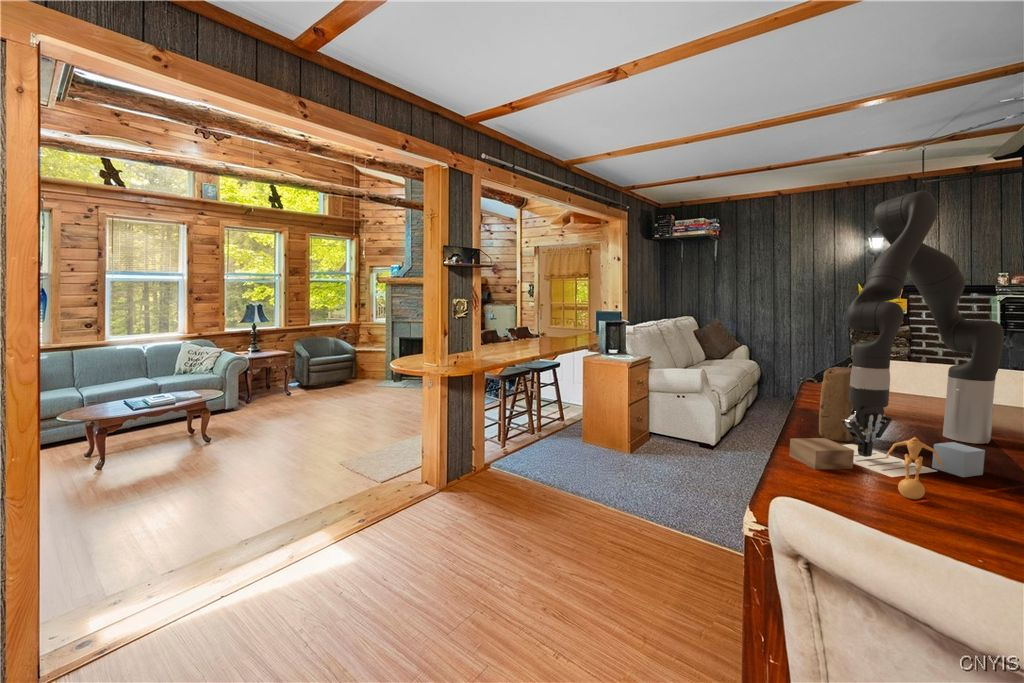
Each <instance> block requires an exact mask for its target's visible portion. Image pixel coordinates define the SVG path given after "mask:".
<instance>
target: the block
mask: <svg viewBox="0 0 1024 683" xmlns="http://www.w3.org/2000/svg"><path fill="white" fill-rule="evenodd" d="M851 370H852V367H845V366H844V367H843V366H841V367H840V366H833V367H829V368H828V369H826V370H825V371H824V372H823V379H822V383H821V386H820V387H821V388H820V390H821V391H820V396H819V397H820V398H819V414H818V434H819V436H821V438H826V439H829V440H831V441H834V442H835V441H836V442H837V441H838V442H851V441H854V438H852V437H851V436H850V434H849V433H848V431H847V429H846V428H845V426H844V424H843V423H842V420H843V419H844V418H845V419H848V418H849V417H850V416H851V410H852V407H853V406H852V404H851V403H850V402H849V388H850V375H851Z"/></svg>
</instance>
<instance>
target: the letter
mask: <svg viewBox="0 0 1024 683" xmlns="http://www.w3.org/2000/svg"><path fill="white" fill-rule="evenodd" d="M842 445H843V446H845V447H848V448H850V449H853V450H854V458H853V465H857V466H860V467H863V468H865V469H868V470H871V471H874V472H875V473H879V474H882V475H885V476H887V477H890V478H895V477H901V476H904V477H905V476H906V469H905V467H906V466H905V463H904V461H905V459H902V458H899V457H895V456H893V455H890V456H889V457H887V458H886V455H887V453H883V452H880V451H877V450H873V449H872V455H871V456H869V457H864V456H861V455H859V454H858V444H856V443H849V444H842ZM908 467H909V468H910V470H909V476H911V475H915V474H916V469H918V468H917V465H916V464H915V462H912V463H911V464H909V466H908ZM920 470H921V471H920V472H919V475H920V474H926V473H927V474H928V473H934V472H938V469H935V468H932V467H931V468H930V467H927V466H924V465H922V467H921V469H920Z"/></svg>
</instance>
